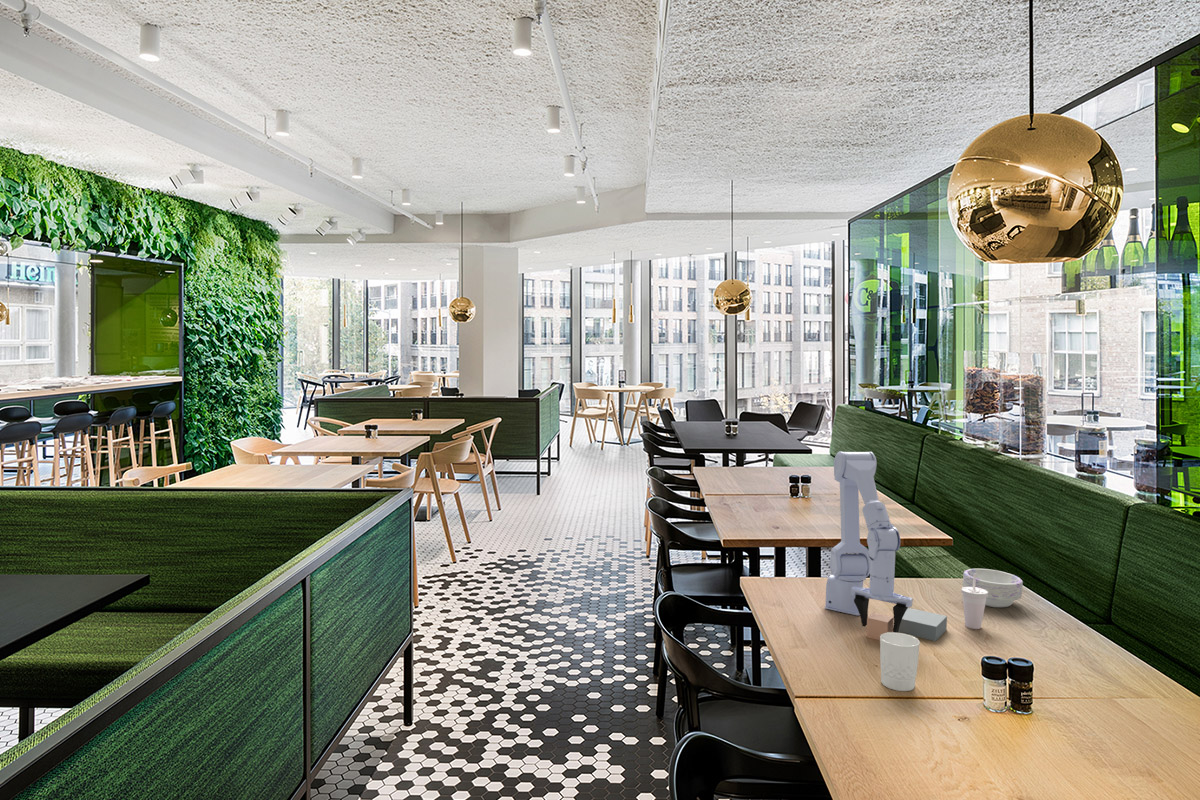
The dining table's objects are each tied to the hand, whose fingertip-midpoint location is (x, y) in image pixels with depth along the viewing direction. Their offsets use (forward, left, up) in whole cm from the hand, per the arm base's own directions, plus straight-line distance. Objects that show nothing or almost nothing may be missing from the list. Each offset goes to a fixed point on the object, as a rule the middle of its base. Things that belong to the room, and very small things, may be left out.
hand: (879, 629), depth 191 cm
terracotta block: (0, 0, -2) cm, 2 cm away
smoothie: (+17, +23, -2) cm, 29 cm away
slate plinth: (+7, +11, -2) cm, 13 cm away
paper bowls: (+17, +48, -2) cm, 51 cm away
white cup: (+12, -26, -2) cm, 29 cm away
